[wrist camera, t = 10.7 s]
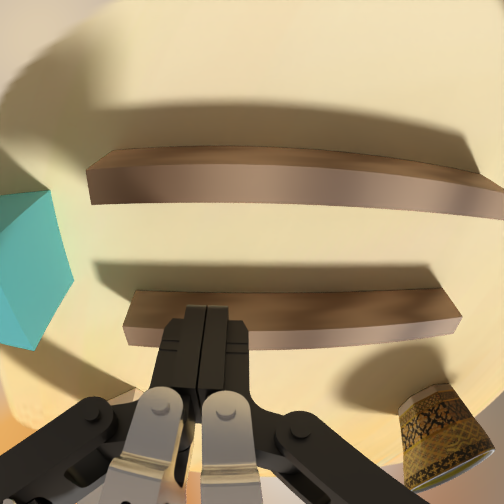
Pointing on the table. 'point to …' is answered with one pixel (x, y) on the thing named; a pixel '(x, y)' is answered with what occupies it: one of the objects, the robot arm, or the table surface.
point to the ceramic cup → (439, 438)
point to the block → (30, 267)
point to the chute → (295, 192)
